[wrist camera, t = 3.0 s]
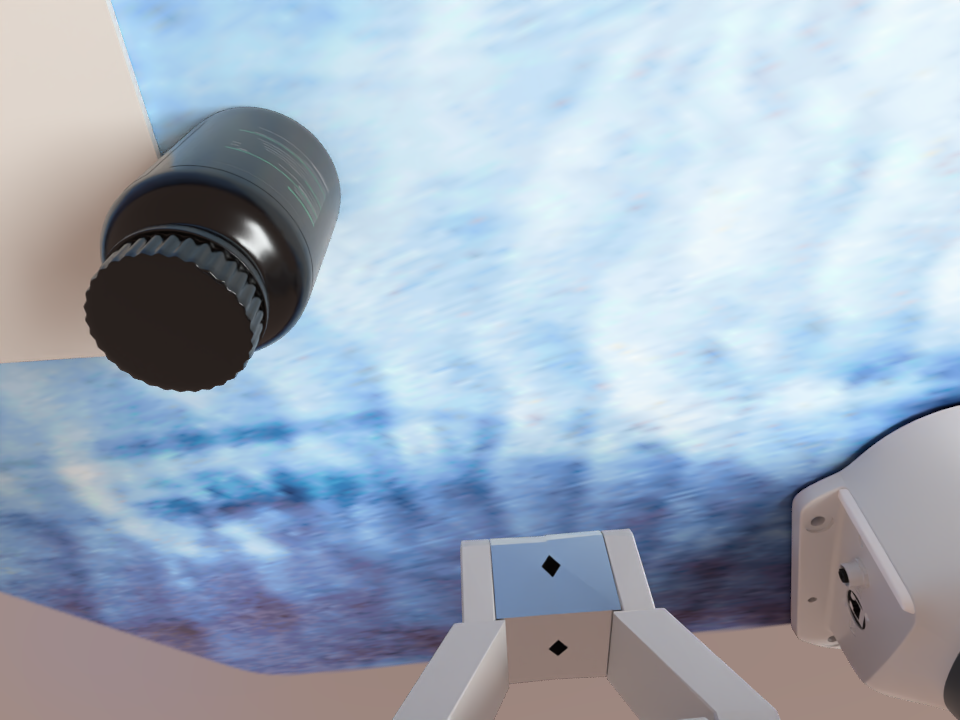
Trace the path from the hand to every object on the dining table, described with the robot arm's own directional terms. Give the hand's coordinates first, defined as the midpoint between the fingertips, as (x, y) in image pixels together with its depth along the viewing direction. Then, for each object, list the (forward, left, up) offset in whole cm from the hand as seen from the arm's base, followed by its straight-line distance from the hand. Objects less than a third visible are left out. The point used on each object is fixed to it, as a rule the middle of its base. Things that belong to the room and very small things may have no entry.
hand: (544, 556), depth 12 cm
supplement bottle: (0, +10, -21) cm, 23 cm away
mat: (0, +20, -21) cm, 29 cm away
